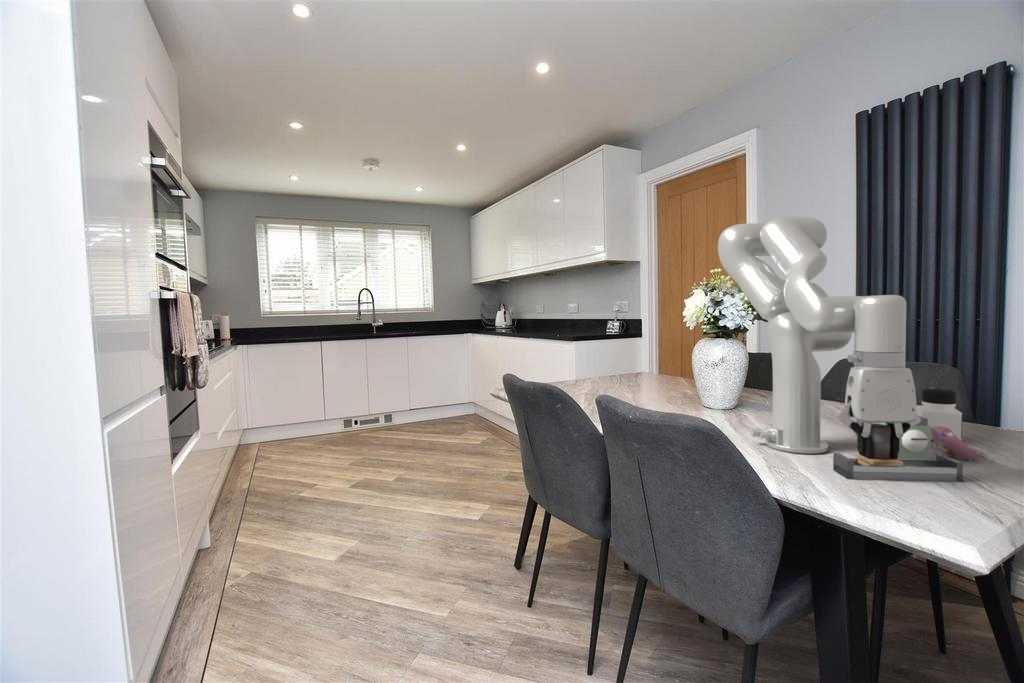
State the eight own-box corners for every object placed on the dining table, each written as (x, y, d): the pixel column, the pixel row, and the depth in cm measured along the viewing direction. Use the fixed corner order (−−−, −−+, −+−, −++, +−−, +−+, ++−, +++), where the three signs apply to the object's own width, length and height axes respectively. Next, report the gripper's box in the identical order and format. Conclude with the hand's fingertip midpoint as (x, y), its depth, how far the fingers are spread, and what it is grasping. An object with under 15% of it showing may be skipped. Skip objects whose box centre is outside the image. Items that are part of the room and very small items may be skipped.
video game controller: (936, 454, 104) (919, 426, 105) (960, 447, 103) (942, 418, 104) (955, 467, 95) (936, 436, 96) (982, 460, 94) (962, 428, 95)
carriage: (872, 471, 85) (873, 429, 85) (854, 460, 91) (854, 422, 91) (903, 471, 85) (903, 429, 84) (882, 461, 90) (882, 422, 90)
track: (847, 478, 87) (847, 460, 86) (833, 470, 91) (833, 452, 91) (962, 481, 84) (963, 462, 83) (941, 472, 88) (942, 454, 88)
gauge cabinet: (898, 465, 93) (899, 419, 93) (878, 455, 100) (879, 412, 99) (932, 466, 92) (933, 419, 92) (909, 456, 99) (910, 412, 98)
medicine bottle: (962, 443, 107) (963, 391, 106) (921, 439, 111) (922, 390, 110) (953, 435, 113) (954, 387, 112) (915, 432, 117) (916, 385, 116)
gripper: (841, 363, 84) (840, 461, 85) (944, 362, 82) (942, 463, 83) (821, 359, 92) (820, 450, 93) (914, 358, 89) (912, 451, 90)
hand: (877, 455), depth 88 cm, fingers closed on carriage, 3 cm apart
